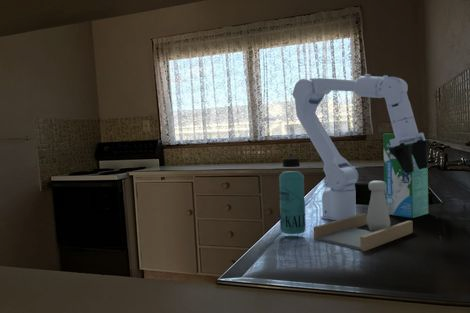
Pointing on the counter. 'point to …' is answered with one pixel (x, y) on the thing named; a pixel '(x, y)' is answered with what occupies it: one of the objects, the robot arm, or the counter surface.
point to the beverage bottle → (292, 199)
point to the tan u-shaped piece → (359, 233)
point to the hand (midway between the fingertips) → (416, 170)
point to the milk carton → (404, 185)
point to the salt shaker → (377, 207)
